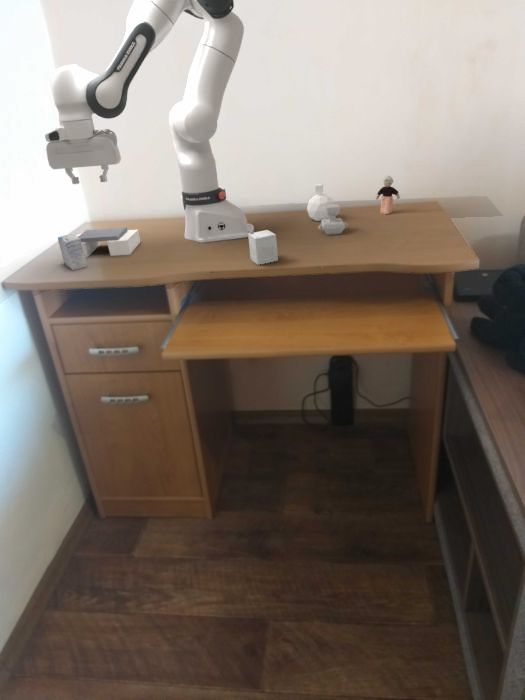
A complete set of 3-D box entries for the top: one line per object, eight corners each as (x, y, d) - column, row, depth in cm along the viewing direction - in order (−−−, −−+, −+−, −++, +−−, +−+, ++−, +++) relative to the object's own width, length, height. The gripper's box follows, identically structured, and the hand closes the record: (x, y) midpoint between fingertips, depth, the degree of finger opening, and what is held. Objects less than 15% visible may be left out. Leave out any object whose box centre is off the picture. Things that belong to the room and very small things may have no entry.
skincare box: (278, 261, 141) (276, 234, 138) (257, 265, 140) (255, 238, 136) (270, 255, 146) (268, 229, 143) (249, 259, 145) (247, 233, 141)
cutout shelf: (140, 245, 167) (137, 225, 164) (130, 256, 156) (126, 236, 153) (83, 248, 168) (78, 229, 165) (68, 260, 158) (63, 240, 155)
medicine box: (88, 268, 150) (80, 238, 146) (72, 272, 148) (64, 241, 144) (79, 262, 156) (72, 233, 152) (64, 265, 154) (56, 236, 150)
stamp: (319, 237, 158) (318, 209, 154) (317, 232, 164) (316, 204, 160) (349, 235, 158) (349, 206, 154) (346, 229, 163) (345, 202, 160)
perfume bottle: (308, 219, 179) (306, 182, 173) (335, 217, 177) (334, 181, 172) (306, 225, 171) (304, 188, 165) (334, 224, 170) (334, 186, 164)
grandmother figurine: (375, 216, 174) (376, 177, 168) (375, 214, 177) (376, 175, 171) (399, 216, 172) (401, 176, 167) (398, 213, 176) (400, 173, 170)
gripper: (118, 127, 148) (128, 178, 154) (48, 133, 150) (61, 183, 156) (111, 129, 142) (121, 182, 149) (39, 135, 144) (52, 187, 151)
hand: (90, 182), depth 152 cm, fingers open, 7 cm apart
